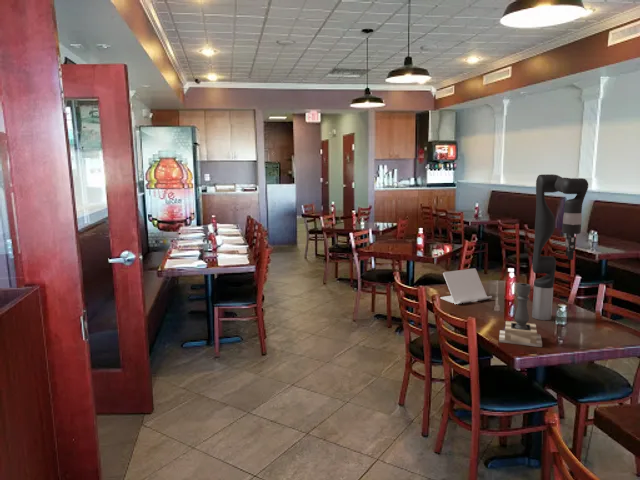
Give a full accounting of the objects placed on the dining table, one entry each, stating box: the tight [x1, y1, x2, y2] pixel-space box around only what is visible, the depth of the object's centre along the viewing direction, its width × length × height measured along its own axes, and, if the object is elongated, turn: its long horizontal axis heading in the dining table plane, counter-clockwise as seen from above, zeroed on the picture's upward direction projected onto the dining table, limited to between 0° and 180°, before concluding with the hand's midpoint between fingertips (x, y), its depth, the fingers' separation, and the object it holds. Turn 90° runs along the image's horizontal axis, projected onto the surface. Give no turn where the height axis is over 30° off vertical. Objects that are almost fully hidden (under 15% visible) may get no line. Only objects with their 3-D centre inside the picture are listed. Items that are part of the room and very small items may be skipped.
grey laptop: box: [440, 268, 493, 305], centre depth 287 cm, size 18×25×17 cm
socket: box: [498, 320, 543, 348], centre depth 222 cm, size 14×18×6 cm
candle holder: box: [514, 282, 531, 330], centre depth 220 cm, size 6×6×25 cm
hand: (569, 257), depth 218 cm, fingers open, 8 cm apart
